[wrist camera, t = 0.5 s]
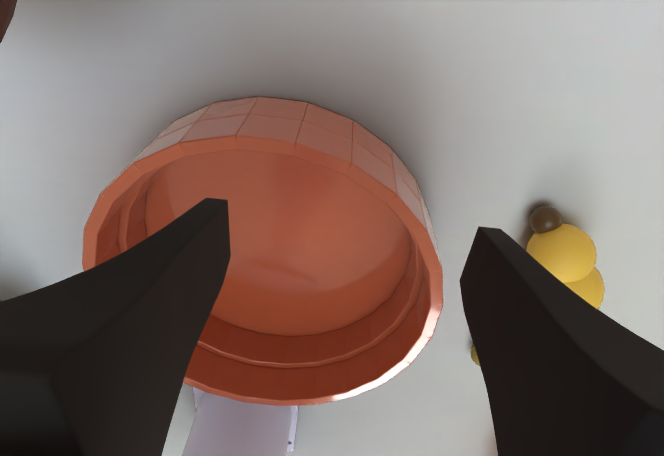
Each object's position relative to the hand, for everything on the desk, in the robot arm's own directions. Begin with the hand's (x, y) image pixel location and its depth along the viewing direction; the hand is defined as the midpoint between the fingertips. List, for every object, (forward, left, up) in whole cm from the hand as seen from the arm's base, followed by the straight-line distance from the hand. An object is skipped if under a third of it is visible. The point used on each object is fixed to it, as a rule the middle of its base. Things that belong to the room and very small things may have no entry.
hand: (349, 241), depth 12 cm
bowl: (-7, +3, -10) cm, 12 cm away
